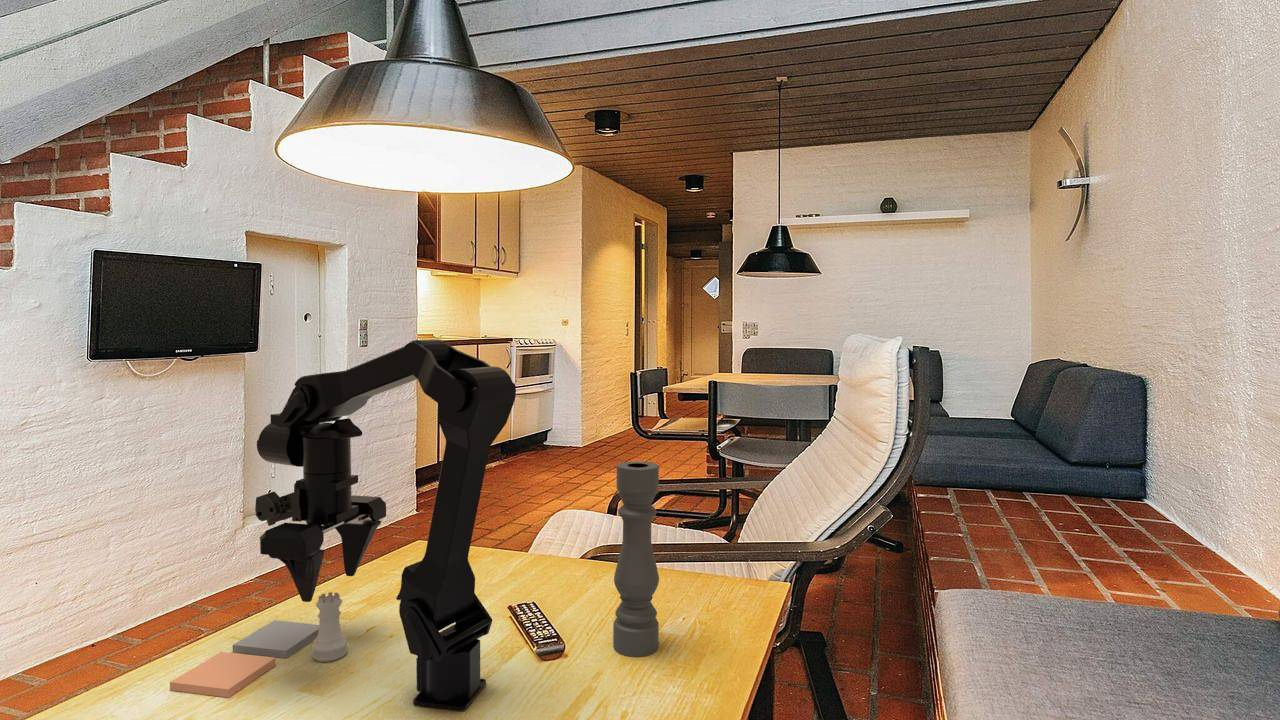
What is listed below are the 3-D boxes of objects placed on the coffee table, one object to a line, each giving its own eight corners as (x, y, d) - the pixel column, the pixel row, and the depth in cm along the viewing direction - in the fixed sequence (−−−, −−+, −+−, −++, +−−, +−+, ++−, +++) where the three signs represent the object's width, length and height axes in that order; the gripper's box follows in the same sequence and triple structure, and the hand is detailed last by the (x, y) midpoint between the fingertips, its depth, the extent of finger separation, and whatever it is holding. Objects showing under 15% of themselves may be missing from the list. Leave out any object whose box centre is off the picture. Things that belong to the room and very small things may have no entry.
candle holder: (605, 651, 96) (607, 467, 95) (623, 633, 102) (625, 459, 101) (648, 660, 94) (651, 471, 93) (664, 641, 100) (667, 463, 98)
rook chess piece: (337, 644, 98) (336, 586, 97) (354, 654, 95) (354, 595, 95) (305, 656, 94) (304, 596, 94) (321, 666, 92) (320, 605, 91)
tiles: (324, 632, 102) (324, 625, 101) (228, 697, 84) (228, 689, 84) (274, 626, 103) (274, 620, 103) (169, 690, 85) (169, 682, 85)
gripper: (317, 454, 104) (319, 560, 105) (218, 483, 86) (221, 611, 87) (387, 458, 102) (388, 566, 103) (301, 487, 84) (304, 618, 84)
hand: (329, 588), depth 94 cm, fingers open, 9 cm apart
